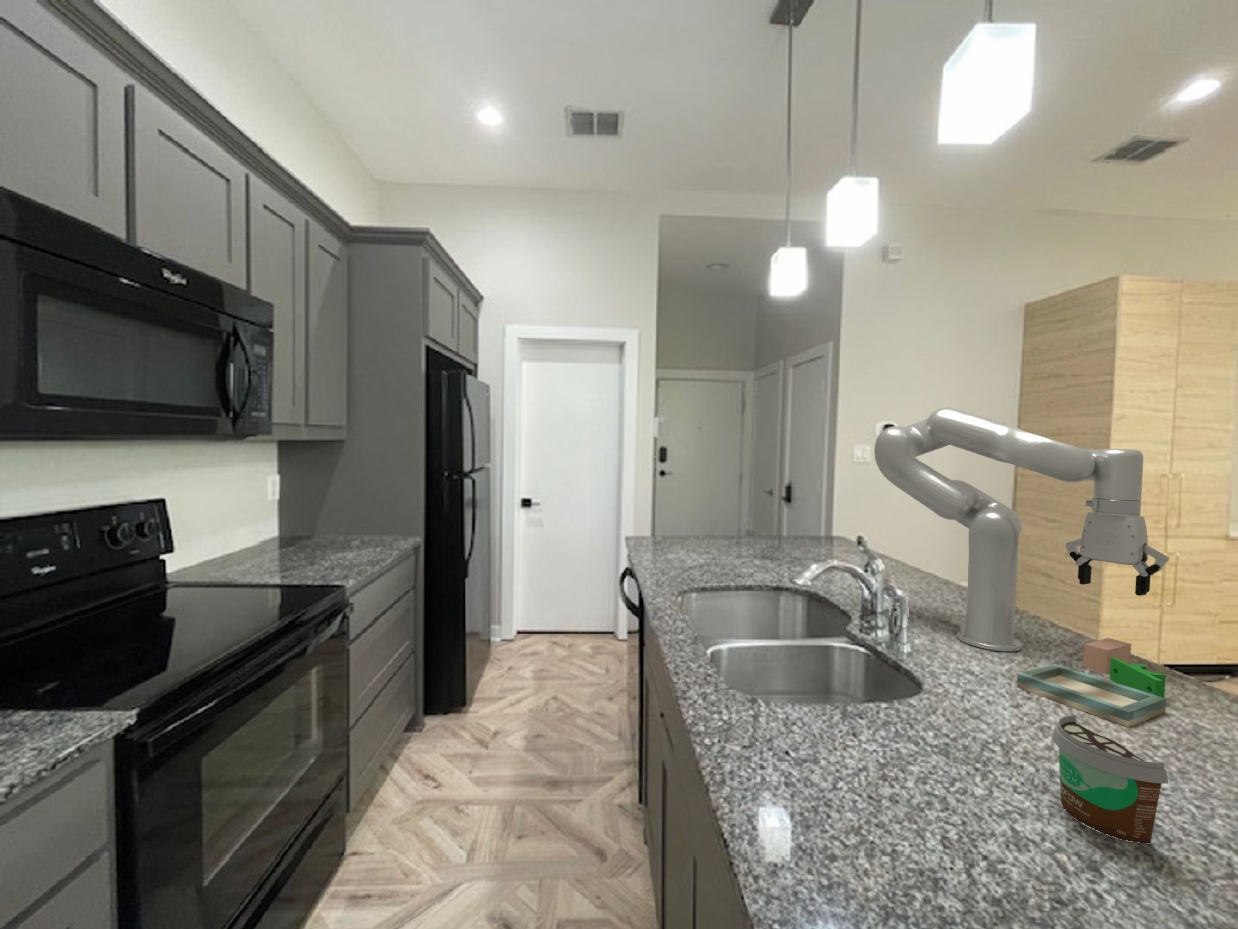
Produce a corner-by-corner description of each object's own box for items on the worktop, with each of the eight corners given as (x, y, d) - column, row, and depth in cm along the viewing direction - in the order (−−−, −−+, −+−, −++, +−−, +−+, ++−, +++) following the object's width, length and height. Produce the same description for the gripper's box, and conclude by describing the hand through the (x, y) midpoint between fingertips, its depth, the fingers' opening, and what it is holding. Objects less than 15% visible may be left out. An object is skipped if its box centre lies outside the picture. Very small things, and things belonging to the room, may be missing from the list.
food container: (1024, 788, 75) (1028, 713, 75) (1067, 787, 76) (1071, 713, 75) (1112, 855, 63) (1118, 766, 63) (1163, 853, 63) (1169, 765, 63)
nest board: (1016, 686, 108) (1017, 673, 108) (1054, 676, 114) (1055, 663, 114) (1128, 727, 93) (1129, 712, 93) (1165, 712, 99) (1165, 698, 99)
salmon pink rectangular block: (1082, 667, 120) (1084, 644, 120) (1107, 660, 124) (1108, 638, 124) (1105, 674, 116) (1107, 650, 116) (1129, 667, 121) (1131, 643, 121)
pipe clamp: (1177, 707, 102) (1179, 682, 102) (1154, 705, 102) (1156, 680, 102) (1129, 681, 113) (1131, 658, 113) (1109, 679, 114) (1110, 657, 113)
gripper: (1059, 504, 125) (1055, 581, 126) (1161, 513, 110) (1156, 601, 110) (1077, 503, 129) (1074, 578, 129) (1179, 512, 113) (1174, 597, 114)
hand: (1111, 589), depth 120 cm, fingers open, 9 cm apart
